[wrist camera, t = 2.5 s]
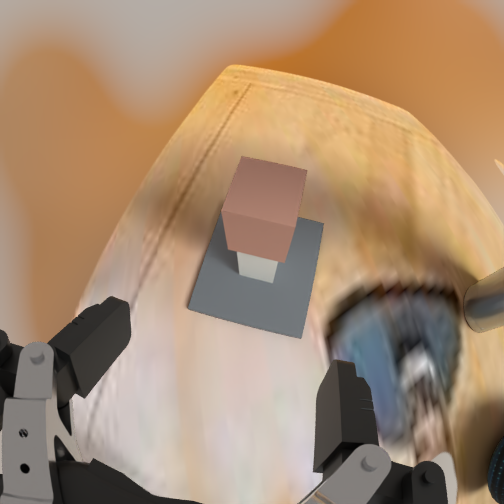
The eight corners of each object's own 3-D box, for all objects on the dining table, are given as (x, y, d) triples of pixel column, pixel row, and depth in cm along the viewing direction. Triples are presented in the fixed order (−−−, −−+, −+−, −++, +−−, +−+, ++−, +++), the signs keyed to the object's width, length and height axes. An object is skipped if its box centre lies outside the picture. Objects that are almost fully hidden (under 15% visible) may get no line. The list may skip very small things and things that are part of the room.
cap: (243, 202, 33) (241, 156, 25) (295, 214, 32) (307, 170, 25) (228, 249, 30) (221, 210, 23) (284, 263, 30) (295, 227, 22)
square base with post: (225, 203, 46) (214, 119, 29) (322, 225, 44) (356, 148, 28) (188, 309, 39) (146, 265, 22) (300, 338, 37) (338, 315, 21)
